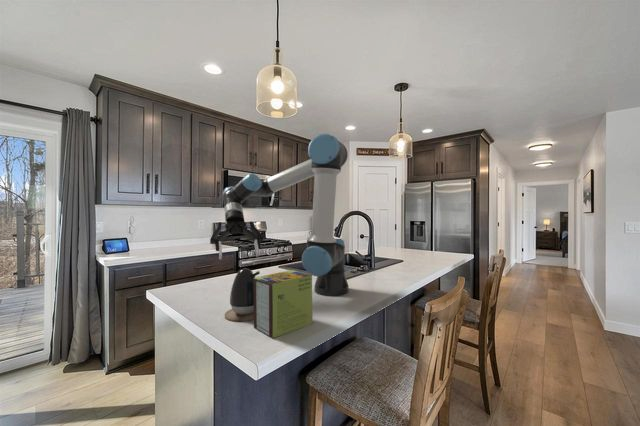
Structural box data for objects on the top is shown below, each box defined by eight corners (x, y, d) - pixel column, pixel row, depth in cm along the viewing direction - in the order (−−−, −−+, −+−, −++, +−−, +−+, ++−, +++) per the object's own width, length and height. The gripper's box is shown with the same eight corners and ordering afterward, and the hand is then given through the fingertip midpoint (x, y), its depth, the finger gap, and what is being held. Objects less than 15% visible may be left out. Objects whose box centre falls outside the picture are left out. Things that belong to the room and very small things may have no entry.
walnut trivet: (264, 306, 103) (264, 305, 103) (263, 320, 90) (263, 318, 90) (228, 308, 101) (228, 307, 101) (221, 323, 88) (221, 321, 88)
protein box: (313, 323, 88) (312, 274, 88) (272, 339, 77) (272, 283, 77) (292, 314, 95) (292, 269, 95) (252, 328, 84) (252, 277, 84)
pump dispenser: (253, 319, 90) (252, 272, 89) (223, 316, 92) (223, 270, 92) (265, 308, 100) (265, 265, 99) (239, 306, 102) (238, 264, 102)
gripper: (262, 220, 126) (270, 259, 112) (202, 222, 116) (203, 264, 102) (264, 209, 121) (273, 247, 107) (202, 209, 111) (204, 252, 97)
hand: (239, 255), depth 105 cm, fingers open, 13 cm apart
